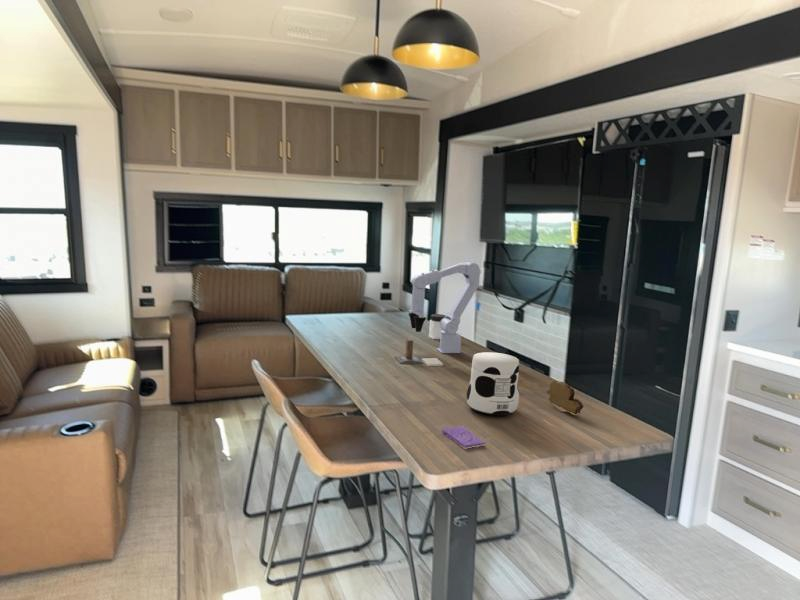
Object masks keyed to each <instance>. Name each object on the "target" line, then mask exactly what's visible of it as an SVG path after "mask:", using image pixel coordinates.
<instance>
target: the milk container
mask: <svg viewBox="0 0 800 600" xmlns="http://www.w3.org/2000/svg"><path fill="white" fill-rule="evenodd" d="M471 361H472V362H471V371H470V381H469V385H468V387H467V390H466V401H467V404H468V407H469V408H470V409H472V410H474V411H475V412H476V413H477V412H478V413H481V414H483V415H484V414H485V415H489V416H507V415H510V414H513V413H515V412H516V410H517V409H518V406H519V403H520V392H519V388H518V387H519V386H518V383H519V375H520V373H519V371H520V359H518V358H517V357H516V356H513V355H510V354H505V353H500V352H492V351H491V352H488V351H487V352H485V351H483V352H477V353H475V354H473V356H472V360H471Z"/></svg>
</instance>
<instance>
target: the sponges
mask: <svg viewBox="0 0 800 600" xmlns="http://www.w3.org/2000/svg"><path fill="white" fill-rule="evenodd" d="M442 432H443V433H445V434H446V435H448V436H449V437H450V438H452V439H453V440H455V441H456V442H457V443H458V444H460V445H461V446H463V447H464V448H465V447H466V448H467V447H472V446H477V445H481V444H484V445H485V444H486V441H484V439H481V438H480V437H478V436H477V435H476V434H474V433H473V432H472V431H470V430H468V429H467V428H466V427H464V426H463V425H458V426H454V427H448V428H447V427H446V428H442V430H441V433H442ZM443 433H442V434H443ZM445 434H444V435H445ZM446 435H445V436H446ZM448 436H447V437H448ZM449 437H448V438H449ZM450 438H449V439H450ZM453 440H452V441H453ZM457 443H456V444H457ZM458 444H457V445H458Z"/></svg>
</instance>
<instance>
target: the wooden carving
mask: <svg viewBox="0 0 800 600" xmlns="http://www.w3.org/2000/svg"><path fill="white" fill-rule="evenodd" d="M549 387H550V389H546V390H545V392H546V393H547V394H548V395H549V397H548V400H549V402H550V404H552V403H553V404H555V405H557V406H559V407H562V408H563V409H565V410H567V411H569V412H572V413H574V414H577V413H580V414H581V410H582V409H583V408H584V405H583V403H582V401H581V400H580V399H578V398H575V390H574V388H573V387H571V385H569V384H568V383H566V382H564V381H557V380H555V381H551V382H550V384H549ZM569 412H568V413H569ZM577 415H578V414H577Z"/></svg>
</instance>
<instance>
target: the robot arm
mask: <svg viewBox="0 0 800 600" xmlns="http://www.w3.org/2000/svg"><path fill="white" fill-rule="evenodd" d="M458 273H459V274H462V275H463V277H464V278H465V281H466V284H465V286H464V287H463V289H462V291H461V293H460V294H459V296H458V298H457V300H456V301H455V303H454V304H453V307H452V308H451V310H450V312H448V313H447V314H445V315H446V316H445V317H444V318H443V319H442V320H441V321H440V327H441V329H442V330H441V337H440V339H439V347H436V350H437V351H439V352H440V353H441V354H461V353H462V352H461V345H462V336H461V334H460V333H459V332H458V330H459V325H460V323H461V317H462V315H463V313H464V312H465V309H466V308H467V306H468V305H469V302H470V301H471V299H472V297H473V296H474V295H475V292H476V291H477V289H478V288H479V285H480V275H481V273H482V271H481V269H480V266H479V264H477V263H476V262H475V263H474V262H471V261H463V262H459V263H456V264H454V265H451V266H449V267H445V268H443V269H441V270H438V269H435V268H432V269H430V271H427V272H422V273H421V274H417V275H414V276H413V277H412V279H411V283H410V284H411V285H412V291H411V292H412V293H411V294H412V295H411V306H410V309H409V310H408V316H409V320H410V325H411V329H415V332H417V333H421V332H422V329H423V326H424V324H425V321H427V320H426V319H427V317H424V314H425V311H424V307H425V295H426V291H425V290H426V288H427V286H430V285H432V284H435V283H438V282H441V280H442V278H445V277H448V276H451V275H454V274H458ZM457 332H458V333H457Z"/></svg>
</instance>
